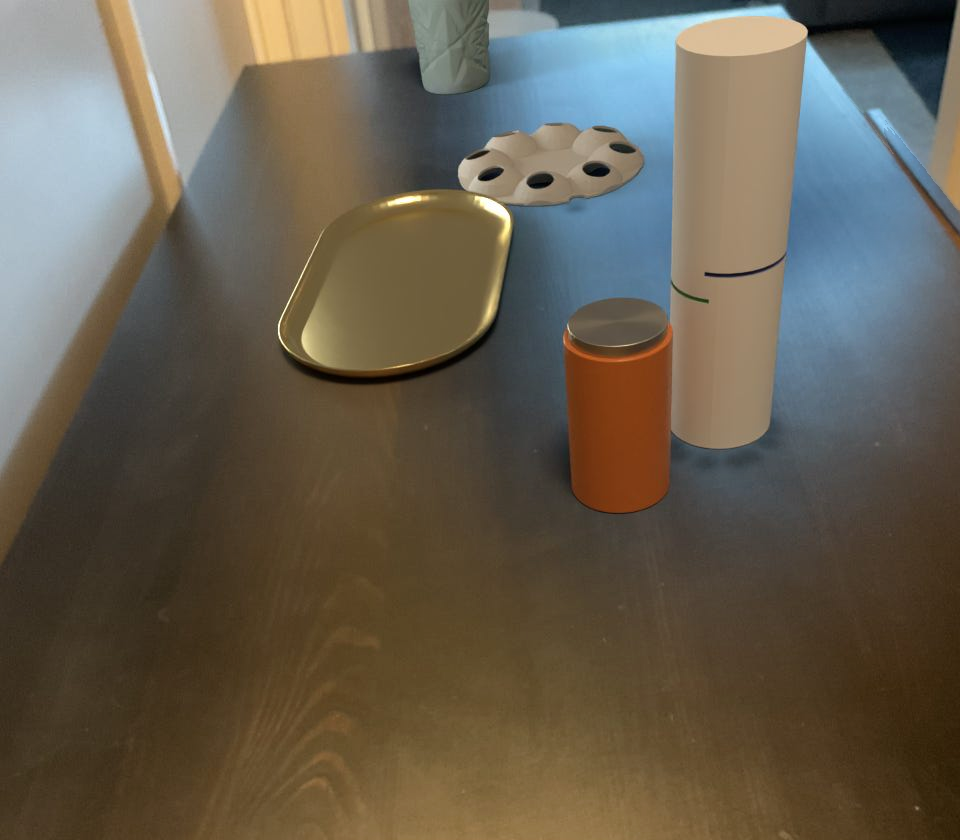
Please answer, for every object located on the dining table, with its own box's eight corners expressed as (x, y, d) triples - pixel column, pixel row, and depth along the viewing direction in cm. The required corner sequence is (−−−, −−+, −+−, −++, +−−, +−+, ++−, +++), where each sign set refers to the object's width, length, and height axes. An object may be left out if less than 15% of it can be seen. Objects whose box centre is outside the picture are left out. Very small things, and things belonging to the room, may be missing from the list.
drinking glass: (402, 87, 138) (387, -19, 130) (461, 64, 143) (449, -40, 134) (455, 101, 132) (442, -10, 124) (514, 76, 137) (505, -32, 129)
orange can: (659, 450, 75) (661, 288, 67) (679, 506, 71) (683, 340, 62) (565, 462, 76) (556, 302, 67) (578, 519, 71) (570, 355, 63)
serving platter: (258, 391, 87) (253, 374, 86) (342, 210, 112) (339, 195, 111) (488, 383, 84) (486, 365, 83) (522, 199, 109) (521, 183, 108)
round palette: (649, 128, 119) (649, 109, 118) (636, 202, 106) (636, 182, 104) (476, 136, 123) (474, 118, 122) (442, 208, 109) (439, 189, 108)
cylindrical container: (762, 453, 74) (799, 55, 57) (658, 443, 76) (663, 56, 59) (776, 397, 79) (814, 14, 61) (679, 389, 81) (689, 17, 63)
